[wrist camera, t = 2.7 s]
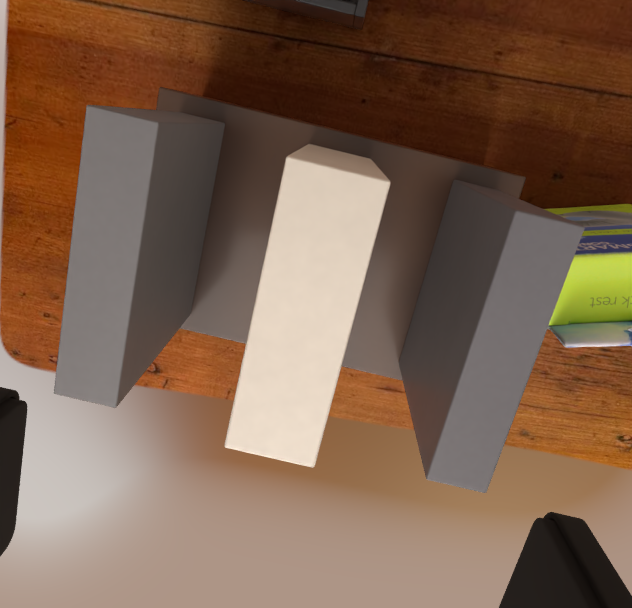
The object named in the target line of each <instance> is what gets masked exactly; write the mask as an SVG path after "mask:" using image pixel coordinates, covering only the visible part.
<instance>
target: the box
mask: <svg viewBox="0 0 632 608" xmlns="http://www.w3.org/2000/svg"><path fill="white" fill-rule="evenodd" d="M544 210H547V211H549V212H551V213H554V214H556V215H559V216H561V217H563V218H566V219H568V220H571V221H573V222H576V223H578V224H580V225H583V226H584V227H585V228H584V231H583V234H582V237H581V239H580V242H579V245H578V247H577V250H576V253H575V256H574V258H573V261H572V264H571V266H570V269H569V272H568V274H567V277H566V280H565V282H564V285H563V288H562V290H561V293H560V296H559V298H558V301H557V304H556V307H555V309H554V312H553V315H552V317H551V320H550V323H549V325H548V329H550V330H551V331H552V332H553V333H554V334H555V335H556V337H557V338H558V339H559V340H560V342H561V343H562V344H563V345H564V346H565V347H587V346H632V205H631V204H617V205H603V206H587V207H571V208H553V209H544Z"/></svg>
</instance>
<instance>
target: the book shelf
mask: <svg viewBox="0 0 632 608" xmlns="http://www.w3.org/2000/svg"><path fill="white" fill-rule="evenodd" d="M156 110H159V111H172V112H182V113H186V114H190V115H194V116H198V117H202V118H206V119H210V120H214V121H218V122H222V123H225V128H224V133H223V139H222V144H221V150H220V155H219V161H218V166H217V172H216V177H215V183H214V188H213V194H212V199H211V205H210V210H209V216H208V221H207V227H206V232H205V238H204V243H203V249H202V254H201V260H200V265H199V271H198V276H197V282H196V287H195V293H194V298H193V304H192V309H191V314H190V316H189V317H188V318H187V319H186V321H185V322H184V323H183V324H182V326H181V327H180V328H181V329H185V330H190V331H194V332H198V333H202V334H207V335H211V336H215V337H219V338H224V339H228V340H232V341H236V342H241V343H245V344H246V342H247V338H248V333H249V328H250V324H251V319H252V314H253V310H254V305H255V300H256V296H257V291H258V287H259V282H260V277H261V273H262V268H263V263H264V259H265V254H266V249H267V245H268V240H269V235H270V231H271V226H272V221H273V217H274V212H275V207H276V203H277V198H278V193H279V189H280V184H281V179H282V175H283V170H284V165H285V161H286V157H287V156H288V155H290V154H292V153H294V152H295V151H297V150H299V149H301V148H302V147H304V146H306V145H308V144H312V145H316V146H320V147H324V148H328V149H332V150H336V151H341V152H345V153H349V154H353V155H357V156H361V157H365V158H369V159H371V160H372V161H373V162H374V163H375V164H376V165H377V167H378V168H379V169H380V170H381V171H382V172H383V174H384V175H385V176H386V177H387V178H388V179H389V180H390V183H391V184H390V187H389V191H388V195H387V198H386V202H385V206H384V210H383V213H382V217H381V221H380V225H379V228H378V232H377V236H376V239H375V243H374V247H373V251H372V254H371V258H370V262H369V265H368V269H367V273H366V277H365V280H364V284H363V288H362V292H361V295H360V299H359V303H358V306H357V310H356V314H355V318H354V321H353V325H352V329H351V332H350V336H349V340H348V344H347V347H346V351H345V355H344V359H343V362H342V366H343V367H347V368H351V369H356V370H360V371H364V372H368V373H373V374H377V375H381V376H385V377H390V378H394V379H398V380H402V381H403V379H402V375H401V371H400V367H399V360H400V357H401V354H402V350H403V347H404V344H405V340H406V337H407V334H408V330H409V327H410V324H411V320H412V317H413V314H414V310H415V307H416V304H417V300H418V297H419V294H420V290H421V287H422V283H423V280H424V277H425V273H426V270H427V267H428V263H429V260H430V257H431V253H432V250H433V247H434V243H435V240H436V237H437V233H438V230H439V227H440V223H441V220H442V217H443V213H444V210H445V207H446V203H447V200H448V197H449V193H450V190H451V187H452V183H453V181H454V180H459V181H463V182H467V183H471V184H475V185H479V186H483V187H487V188H491V189H495V190H499V191H501V192H503V193H506V194H508V195H511V196H513V197H515V198H518V199H519V198H520V195H521V192H522V189H523V186H524V183H525V180H526V177H524V176H521V175H517V174H514V173H510V172H506V171H503V170H499V169H496V168H492V167H489V166H485V165H481V164H477V163H473V162H469V161H465V160H461V159H457V158H453V157H449V156H445V155H441V154H437V153H433V152H429V151H424V150H420V149H416V148H412V147H408V146H404V145H400V144H396V143H392V142H388V141H384V140H380V139H376V138H372V137H368V136H364V135H360V134H355V133H351V132H347V131H343V130H339V129H335V128H331V127H327V126H323V125H319V124H315V123H311V122H307V121H303V120H299V119H295V118H291V117H286V116H282V115H278V114H274V113H270V112H266V111H262V110H258V109H254V108H250V107H246V106H242V105H238V104H234V103H230V102H226V101H221V100H217V99H213V98H209V97H205V96H201V95H196V94H191V93H187V92H182V91H177V90H172V89H168V88H163V87H160V88H159V94H158V101H157V108H156Z"/></svg>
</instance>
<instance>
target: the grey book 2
mask: <svg viewBox="0 0 632 608" xmlns="http://www.w3.org/2000/svg"><path fill="white" fill-rule="evenodd" d="M584 228H585V227H584V226H583V225H580V224H578V223H576V222H573V221H571V220H568V219H566V218H563V217H561V216H559V215H556V214H554V213H551V212H549V211H547V210H544V209H542V208H539V207H537V206H535V205H532V204H530V203H527V202H525V201H523V200H520V199H518V198H515V197H513V196H511V195H508V194H506V193H503V192H501V191H499V190H495V189H491V188H487V187H483V186H479V185H475V184H471V183H467V182H463V181H459V180H454V181H453V183H452V187H451V190H450V193H449V197H448V200H447V203H446V207H445V210H444V213H443V217H442V220H441V223H440V227H439V230H438V233H437V237H436V240H435V243H434V247H433V250H432V253H431V257H430V260H429V263H428V267H427V270H426V273H425V277H424V280H423V283H422V287H421V290H420V294H419V297H418V300H417V304H416V307H415V310H414V314H413V317H412V320H411V324H410V327H409V330H408V334H407V337H406V340H405V344H404V347H403V350H402V354H401V357H400V360H399V367H400V371H401V375H402V379H403V384H404V388H405V392H406V396H407V400H408V405H409V409H410V413H411V417H412V421H413V425H414V430H415V433H416V438H417V442H418V446H419V451H420V455H421V459H422V463H423V467H424V471H425V475H426V479H427V480H431V481H435V482H440V483H445V484H449V485H453V486H457V487H462V488H466V489H470V490H474V491H479V492H483V493H485V492H486V491H487V489H488V486H489V484H490V481H491V478H492V475H493V473H494V470H495V468H496V465H497V462H498V459H499V457H500V454H501V451H502V448H503V446H504V443H505V441H506V438H507V435H508V433H509V430H510V427H511V425H512V422H513V419H514V417H515V414H516V411H517V409H518V406H519V403H520V400H521V398H522V395H523V392H524V390H525V387H526V384H527V382H528V379H529V376H530V374H531V371H532V368H533V366H534V363H535V360H536V358H537V355H538V352H539V349H540V347H541V344H542V341H543V339H544V336H545V333H546V331H547V328H548V325H549V323H550V320H551V317H552V315H553V312H554V309H555V307H556V304H557V301H558V298H559V296H560V293H561V290H562V288H563V285H564V282H565V280H566V277H567V274H568V272H569V269H570V266H571V264H572V261H573V258H574V256H575V253H576V250H577V247H578V245H579V242H580V239H581V237H582V234H583V231H584Z"/></svg>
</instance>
